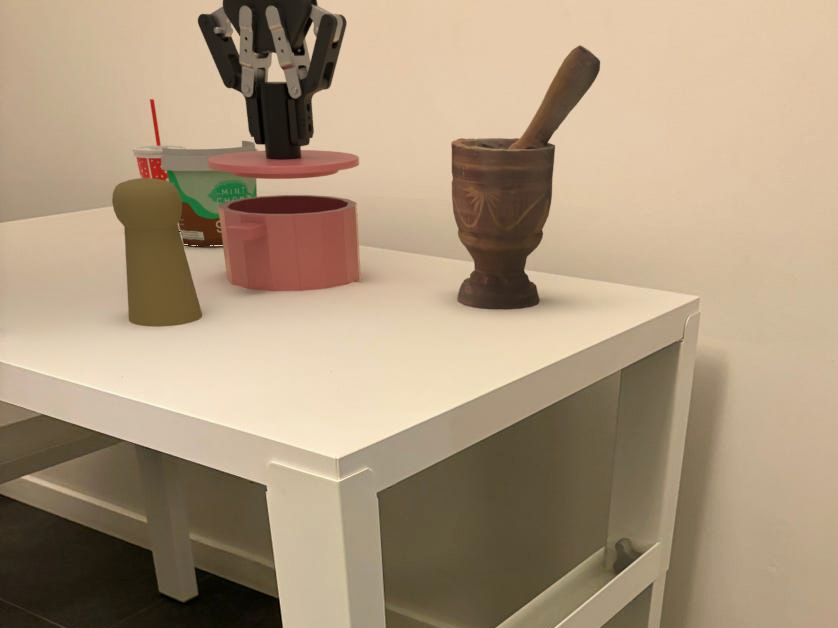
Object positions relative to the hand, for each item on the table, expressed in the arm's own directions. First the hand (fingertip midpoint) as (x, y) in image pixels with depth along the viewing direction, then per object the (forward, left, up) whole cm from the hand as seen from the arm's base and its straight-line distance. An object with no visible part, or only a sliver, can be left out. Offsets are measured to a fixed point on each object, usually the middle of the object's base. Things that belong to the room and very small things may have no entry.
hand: (282, 143), depth 89 cm
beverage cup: (-29, +21, -12) cm, 38 cm away
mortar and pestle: (+23, -1, -12) cm, 26 cm away
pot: (0, 0, -12) cm, 12 cm away
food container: (-17, +16, -12) cm, 26 cm away
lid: (0, 0, -2) cm, 2 cm away
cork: (-2, -18, -12) cm, 22 cm away
